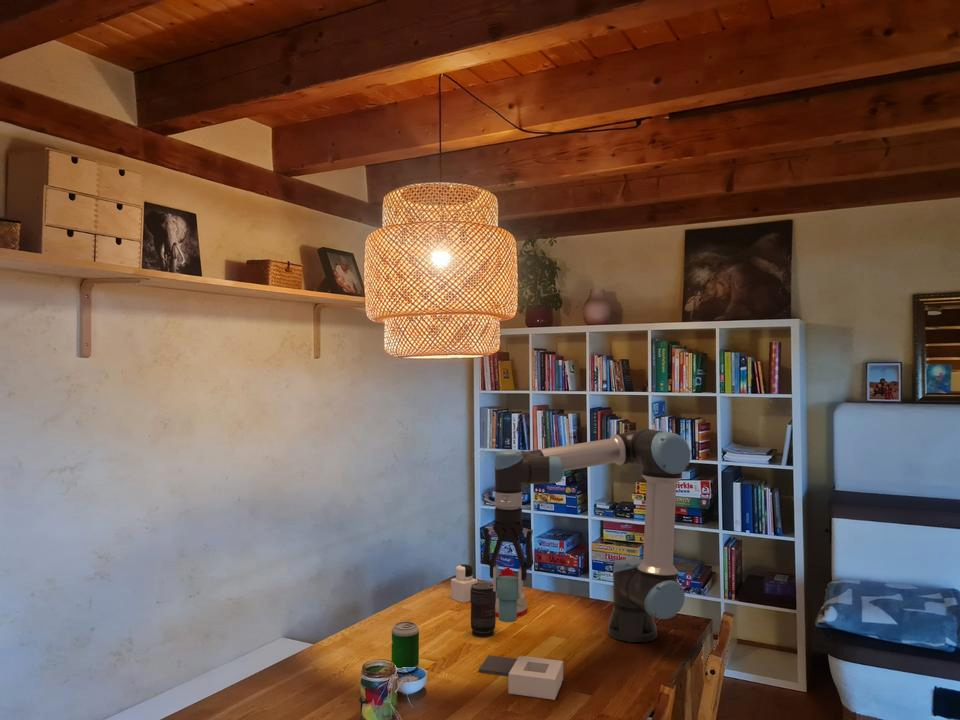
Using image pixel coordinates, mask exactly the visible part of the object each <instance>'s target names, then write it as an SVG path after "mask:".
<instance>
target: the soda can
mask: <svg viewBox="0 0 960 720" xmlns="http://www.w3.org/2000/svg"><path fill="white" fill-rule="evenodd" d="M419 655H420V628H419V626H418V625H417V624H416V623H415V622H413V621H400V622H397V623H395V624H394V626H393V627H392V628H391V663H392V662H393V663H394V664H395V665H396V667H397V668H402V667H417V668H418V667H419V666H420V665H419V664H420V657H419Z"/></svg>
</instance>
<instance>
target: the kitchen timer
mask: <svg viewBox="0 0 960 720" xmlns="http://www.w3.org/2000/svg"><path fill="white" fill-rule="evenodd" d="M500 571H501V572H500V574H499V573H498V577H500V576H515V571H513V569H511V568H510V567H509V566H507V567H504V568H503V569H501V570H500ZM526 598H527V597H526V592H524V590H523V591H522V593H521V594H520V598H519V599H517V618H520V617H519V616H521V617H523V616H522V615H524V614H525V615H526V614H527V613H528V603H527V600H526ZM526 612H527V613H526ZM495 615H496V618H498V617H499V599H498V598H497V597H496V603H495ZM525 615H524V616H525Z"/></svg>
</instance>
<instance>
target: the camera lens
mask: <svg viewBox="0 0 960 720" xmlns="http://www.w3.org/2000/svg"><path fill="white" fill-rule="evenodd" d="M469 602H470V629H471V631H472V632H471V633H472V635H473V636H475V637H479V638H487V637H491V636H493V635H494V633H495V632H494V631H495V629H496V624H497V623H496V620H497V619H496V618H497V617H496V615H495V603H496V591H493V582H487V581H486V582H485V581H483V582H482V581H481V582H478V583H475V584H472V585H471V589H470V601H469Z"/></svg>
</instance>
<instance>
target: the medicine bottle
mask: <svg viewBox="0 0 960 720" xmlns="http://www.w3.org/2000/svg"><path fill="white" fill-rule="evenodd" d="M473 572H474V571H473V566H472V565H469V564H459V565H457V566H456V567H455V577H453V578H450V599H451V600H454V601H456V602H459V603H462V604H465V603H469V602H471V601H470V589H471V585H472V584H475V583H479V581H478V579H477V578H476V579H475V578H473V576H474V575H473V574H474V573H473Z"/></svg>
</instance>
